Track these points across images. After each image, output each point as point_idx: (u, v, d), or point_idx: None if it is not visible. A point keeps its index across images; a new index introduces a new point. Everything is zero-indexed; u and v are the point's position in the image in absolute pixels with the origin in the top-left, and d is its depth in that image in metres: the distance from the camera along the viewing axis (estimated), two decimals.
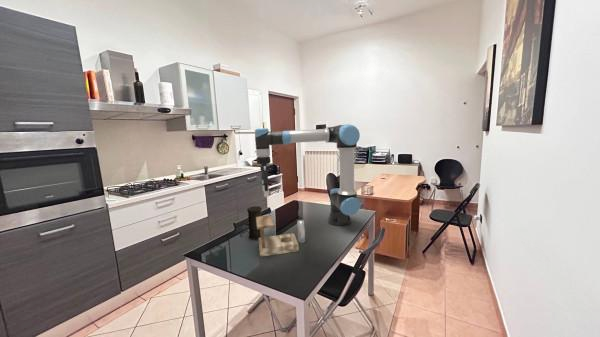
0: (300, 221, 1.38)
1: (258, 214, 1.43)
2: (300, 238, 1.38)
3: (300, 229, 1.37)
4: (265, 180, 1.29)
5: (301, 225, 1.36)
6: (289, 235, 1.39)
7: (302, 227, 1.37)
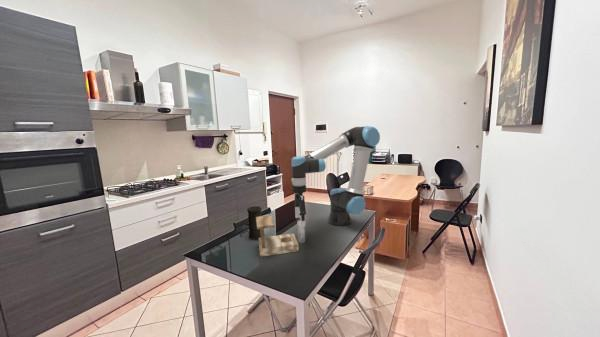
0: None
1: (258, 214, 1.43)
2: (300, 238, 1.38)
3: (300, 229, 1.37)
4: (303, 210, 1.27)
5: None
6: (289, 235, 1.39)
7: (302, 227, 1.37)
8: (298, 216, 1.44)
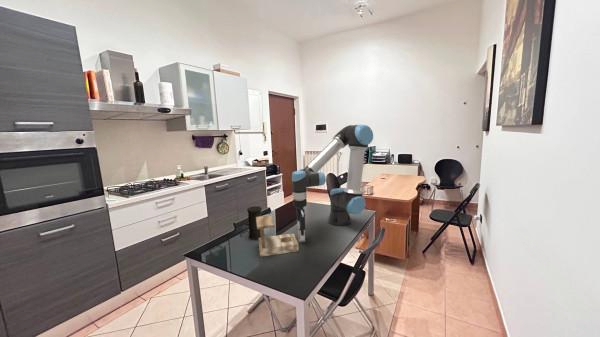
0: None
1: (258, 214, 1.43)
2: None
3: None
4: (302, 226, 1.33)
5: None
6: (289, 235, 1.39)
7: None
8: None
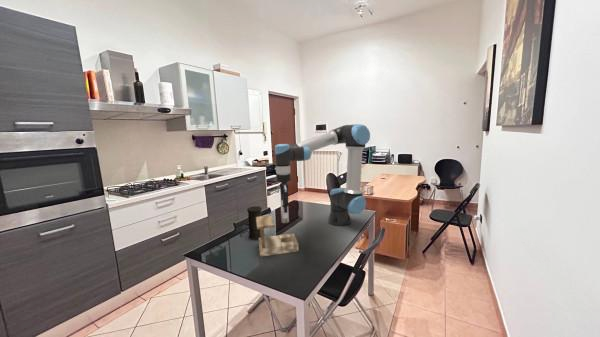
0: None
1: (258, 214, 1.43)
2: (283, 218, 1.30)
3: None
4: (285, 202, 1.25)
5: None
6: (289, 235, 1.39)
7: None
8: None
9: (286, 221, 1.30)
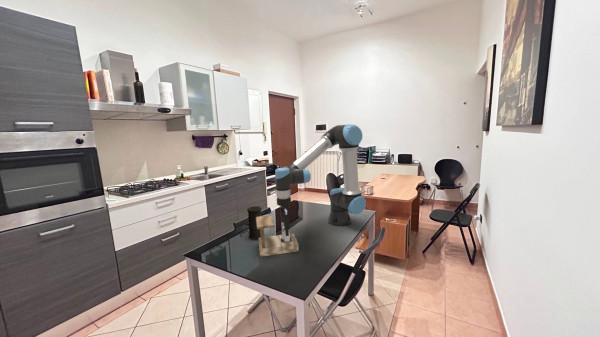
0: None
1: (258, 214, 1.43)
2: None
3: None
4: (286, 226, 1.24)
5: None
6: None
7: None
8: None
9: None
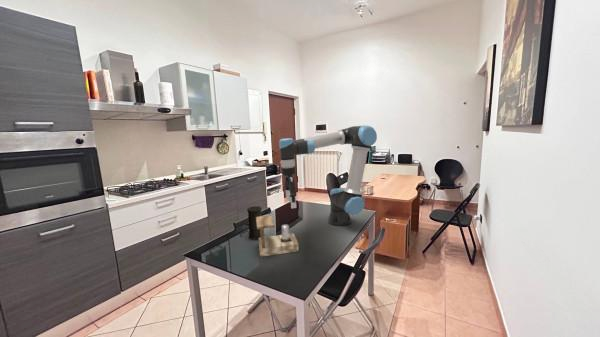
0: (284, 226, 1.32)
1: (258, 214, 1.43)
2: None
3: (284, 234, 1.31)
4: (293, 192, 1.26)
5: (285, 229, 1.31)
6: (289, 235, 1.39)
7: (286, 232, 1.31)
8: (289, 199, 1.43)
9: None
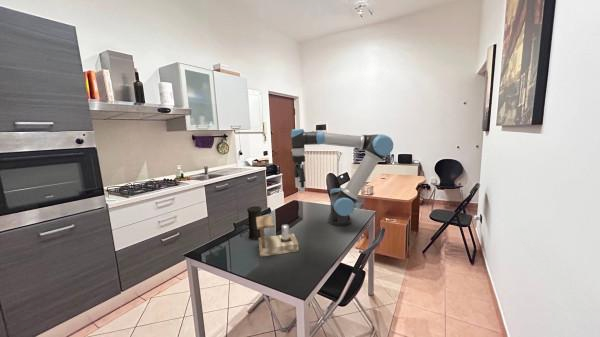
0: (284, 226, 1.32)
1: (258, 214, 1.43)
2: None
3: (284, 234, 1.31)
4: (302, 177, 1.38)
5: (285, 230, 1.31)
6: (289, 235, 1.39)
7: (286, 232, 1.31)
8: (298, 186, 1.55)
9: None
